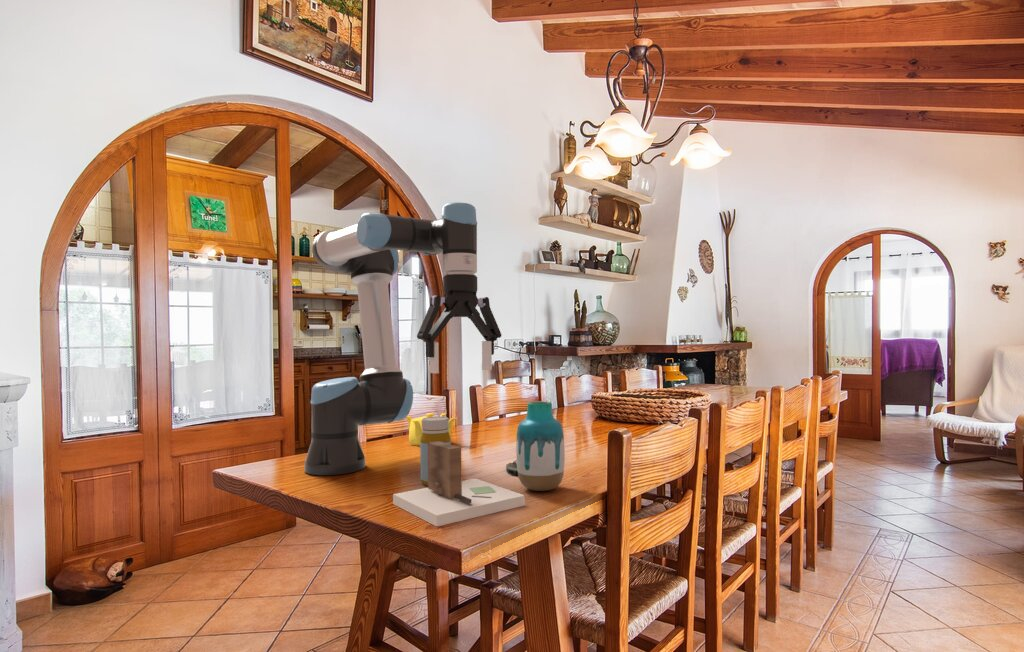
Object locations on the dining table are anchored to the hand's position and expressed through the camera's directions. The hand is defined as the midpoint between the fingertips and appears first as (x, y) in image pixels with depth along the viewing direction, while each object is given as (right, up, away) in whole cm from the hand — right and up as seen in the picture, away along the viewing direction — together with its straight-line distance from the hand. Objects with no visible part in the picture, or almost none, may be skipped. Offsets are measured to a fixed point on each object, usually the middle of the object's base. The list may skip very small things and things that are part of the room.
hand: (461, 371), depth 126 cm
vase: (+17, -26, 0) cm, 31 cm away
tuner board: (0, -26, -10) cm, 28 cm away
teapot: (-15, -28, +57) cm, 65 cm away
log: (+14, -27, +18) cm, 36 cm away
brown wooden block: (-1, -24, -12) cm, 26 cm away
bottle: (-7, -27, +7) cm, 29 cm away
